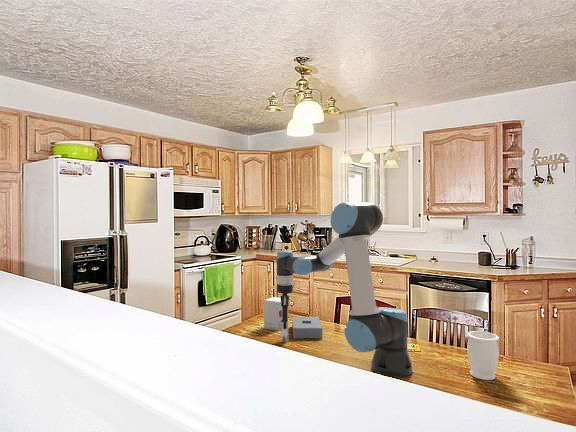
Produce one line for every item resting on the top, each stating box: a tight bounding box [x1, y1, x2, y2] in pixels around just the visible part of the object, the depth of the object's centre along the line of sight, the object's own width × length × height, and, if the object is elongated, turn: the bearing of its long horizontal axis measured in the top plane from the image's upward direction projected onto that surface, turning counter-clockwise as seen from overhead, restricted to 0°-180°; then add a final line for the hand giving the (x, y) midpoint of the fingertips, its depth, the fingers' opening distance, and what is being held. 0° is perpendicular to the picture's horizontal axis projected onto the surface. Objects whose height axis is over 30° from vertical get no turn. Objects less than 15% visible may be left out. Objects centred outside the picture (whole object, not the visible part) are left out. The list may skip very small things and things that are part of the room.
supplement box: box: [263, 296, 282, 331], centre depth 198 cm, size 9×9×15 cm
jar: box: [466, 330, 500, 381], centre depth 138 cm, size 11×10×15 cm
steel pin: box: [281, 335, 289, 343], centre depth 176 cm, size 3×3×15 cm
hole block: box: [291, 316, 323, 340], centre depth 190 cm, size 20×14×5 cm
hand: (284, 333), depth 176 cm, fingers open, 4 cm apart
